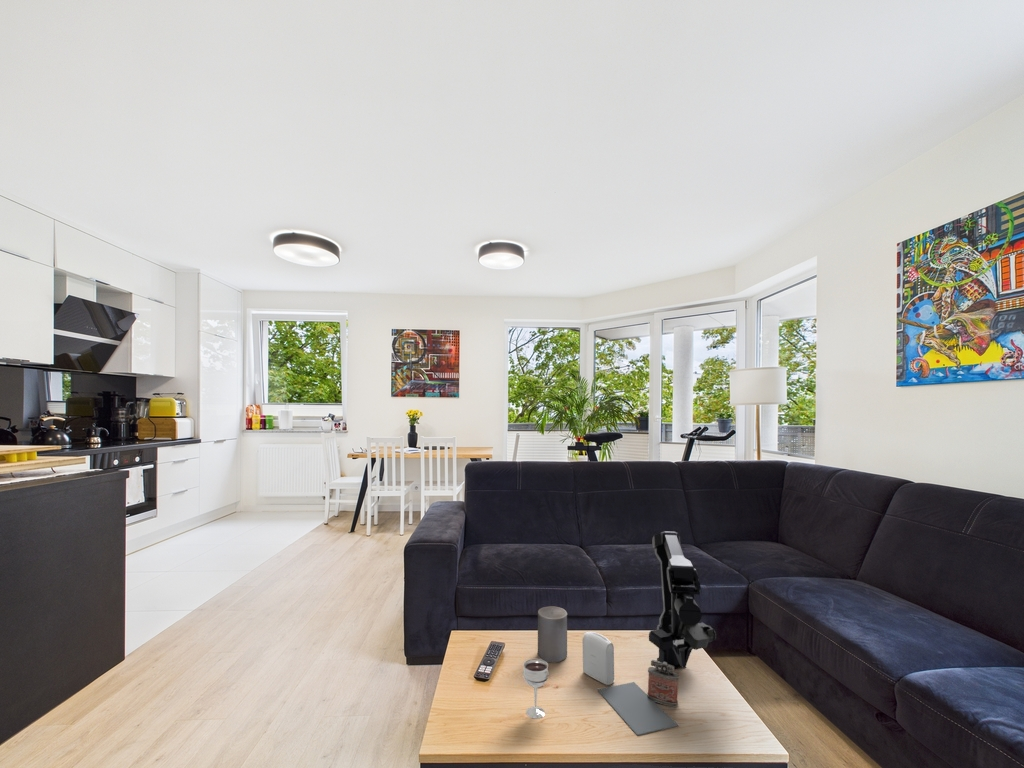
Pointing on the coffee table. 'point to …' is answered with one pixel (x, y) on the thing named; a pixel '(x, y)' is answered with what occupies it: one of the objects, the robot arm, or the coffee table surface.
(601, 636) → the photo printer
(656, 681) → the lighter
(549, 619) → the pillar candle
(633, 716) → the rubber mat
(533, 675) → the wineglass
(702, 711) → the coffee table surface
